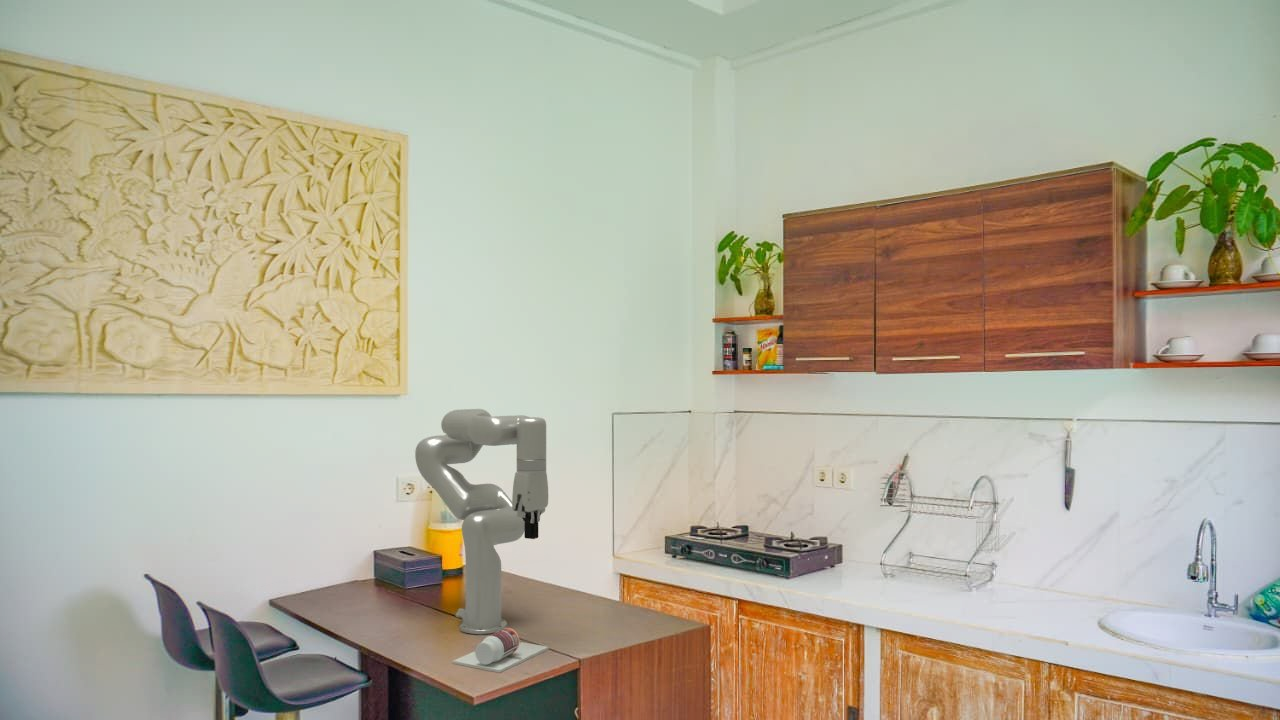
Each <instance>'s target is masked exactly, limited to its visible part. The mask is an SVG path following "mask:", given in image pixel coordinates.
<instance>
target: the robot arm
mask: <svg viewBox="0 0 1280 720" xmlns="http://www.w3.org/2000/svg"><path fill="white" fill-rule="evenodd" d="M440 428H441V430H442V432H443V434H442V435H433V436H428V437H426V438H425V437H424V438H423V439H421V440H420V441H419V442H418V444H417V445H416V447H415V451H414V453H415V455H414V457H415V458H414V459H415V463H416V467H417V469H418V471H419V473H420V475H421V476H422V478H423V479H424V480H425V482H426V483H427V484H429V485H430V486H431V488H432V489H433V490H434V491H435V492H436V493H437V494H438V496H439V497H440V498H441V501H442V502H443V503H444V504H445V505H446V507H447V508H448V510H449V511H450V512H451V513H452V515H453V516H454V517H455V518H456V519H458V520H461V521H463V522H462V524H461V535H462V539H463V540H462V541H463V545H464V553H465V556H464V557H465V608H461V607H460V608H458V610H457V612H456V613H455V617H456V618H460V619H462V622H461V623H459V629H460V631H461V632H464V633H467V634H472V635H488V634H494V633H496V632H498V631H500V630H502V629H504V628H508V622H507V621H506V620H505V619H502V561H501V558H500V555H499V554H498V552H497V550H496V548H495V546H497V545H500V544H502V545H503V544H506V543H512V542H515V541H518V540H520V539H521V537H523V535H524V539H528V540H529V539H530V540H535V539H538V538H539V522H540V520H541V515H543V513H545V512H546V508H547V507H548V504H549V483H548V475H547V473H548V472H547V421H546V420H545V419H544V418H543V417H535V416H534V417H532V416H527V415H523V414H521V415H518V414H517V415H499V416H497V415H495V416H492V415H491V414H490V413H489V411H487V410H485V409H482V408H470V409H465V408H464V409H454V410H450V411H449V412H448V413H446V414H445V415H444V416H443V418H442V420H441V427H440ZM509 445H512V446H513V445H516V472H515V473H514V478H513V484H512V497H511V498H512V499H510V497H509V496H508V495H507V493H506V492H505V491H504V490H503V489H502V488H501V486H499V485H497V484H495V483H494V484H493V483H480V484H478V483H477V484H473V483H470V482H469V481H468V480H467V479H466V478H465V476H464V475H463V474H462V473H461V472H460V471H458V469H456V468H454V467H452V466H450V465H453V464H454V465H457V464H458V465H459V464H465V463H469V462H471V461H472V460H473V459H475V458H476V457H477V455H478V453H479V452H480V450H481V449H482V448H483V446H491V447H492V446H493V447H496V446H497V447H499V446H509Z"/></svg>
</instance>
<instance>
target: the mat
mask: <svg viewBox="0 0 1280 720" xmlns="http://www.w3.org/2000/svg"><path fill="white" fill-rule="evenodd" d="M549 649H550V647H549V646H545V645H539V644H534V643H528V642H522V641H520V643H519V647H518V649H517V650H516V651H515V652H513V653H512V654H510V655H508V656H506V657H505V658H503V659H501V660H499V661H497V662H492V663H490V664H482V663H480V662H479V661H478V660H477V658H476V655H475V651H473V652H470V653H467V654H466V655H465V654H464V655H463V656H461V657H458V658H457V659H454V660H452V662H451V663H452V665H453V664H454V665H459V666H463V667H468V668H474V669H479V670H484V671H488V672H493V673H494V672H495V673H498V674H500V673H502V672H504V671H506V670H508V669H511V668H513V667H514V666H517V665H519V664H521V663H524V662H525V661H527V660H529V659H531V658H534V657H535V656H539V655H540V654H543V653H544V652H547V651H548V650H549Z"/></svg>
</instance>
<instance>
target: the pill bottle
mask: <svg viewBox="0 0 1280 720" xmlns="http://www.w3.org/2000/svg"><path fill="white" fill-rule="evenodd" d="M520 642H521V641H520V637H519V635H518V632H516V630H514V629H513V628H510V627H506V628H504V629H502V630H500V631H498V632H495V633H491V634H490V635H488V636H486V637H485V638H483V640H482V642H479V643H478V644H477V646H476V647H475V655H476V658H477V660H478V661H479V662H480V663H482V664H490V663H492V662H497V661H499V660H501V659H503V658H505V657H506V656H508V655H510V654H512V653H513V652H515V651H516V650H517V649H518V647H519V643H520Z"/></svg>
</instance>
